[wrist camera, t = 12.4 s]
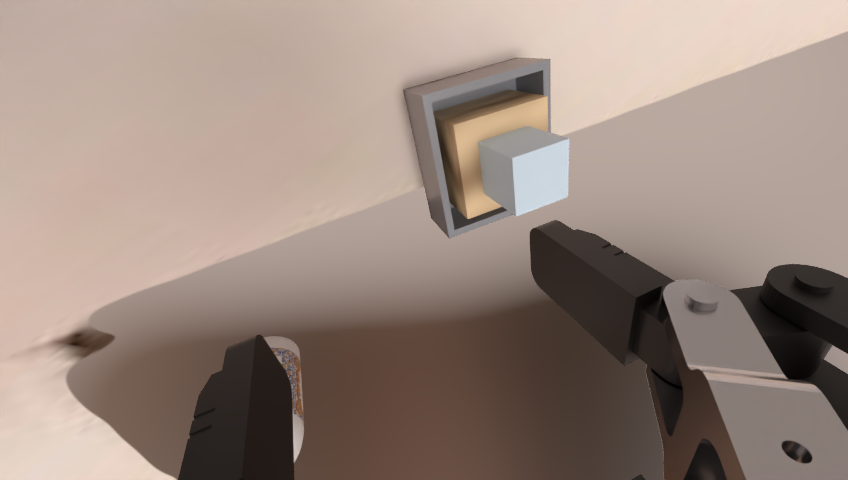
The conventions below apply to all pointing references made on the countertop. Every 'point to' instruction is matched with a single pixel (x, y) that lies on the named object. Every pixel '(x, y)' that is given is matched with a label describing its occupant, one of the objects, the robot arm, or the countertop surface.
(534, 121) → the oak block
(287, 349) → the bath foam
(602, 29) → the countertop surface
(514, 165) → the light blue cube
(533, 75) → the tote
